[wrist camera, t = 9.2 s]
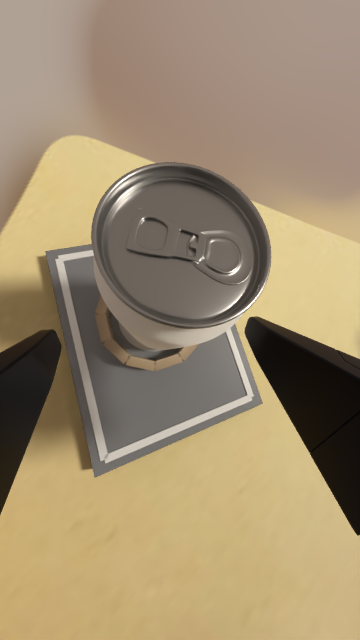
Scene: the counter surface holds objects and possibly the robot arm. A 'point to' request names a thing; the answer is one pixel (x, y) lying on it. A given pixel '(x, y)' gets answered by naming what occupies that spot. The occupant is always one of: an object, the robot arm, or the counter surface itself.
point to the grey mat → (141, 375)
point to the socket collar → (126, 357)
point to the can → (178, 254)
